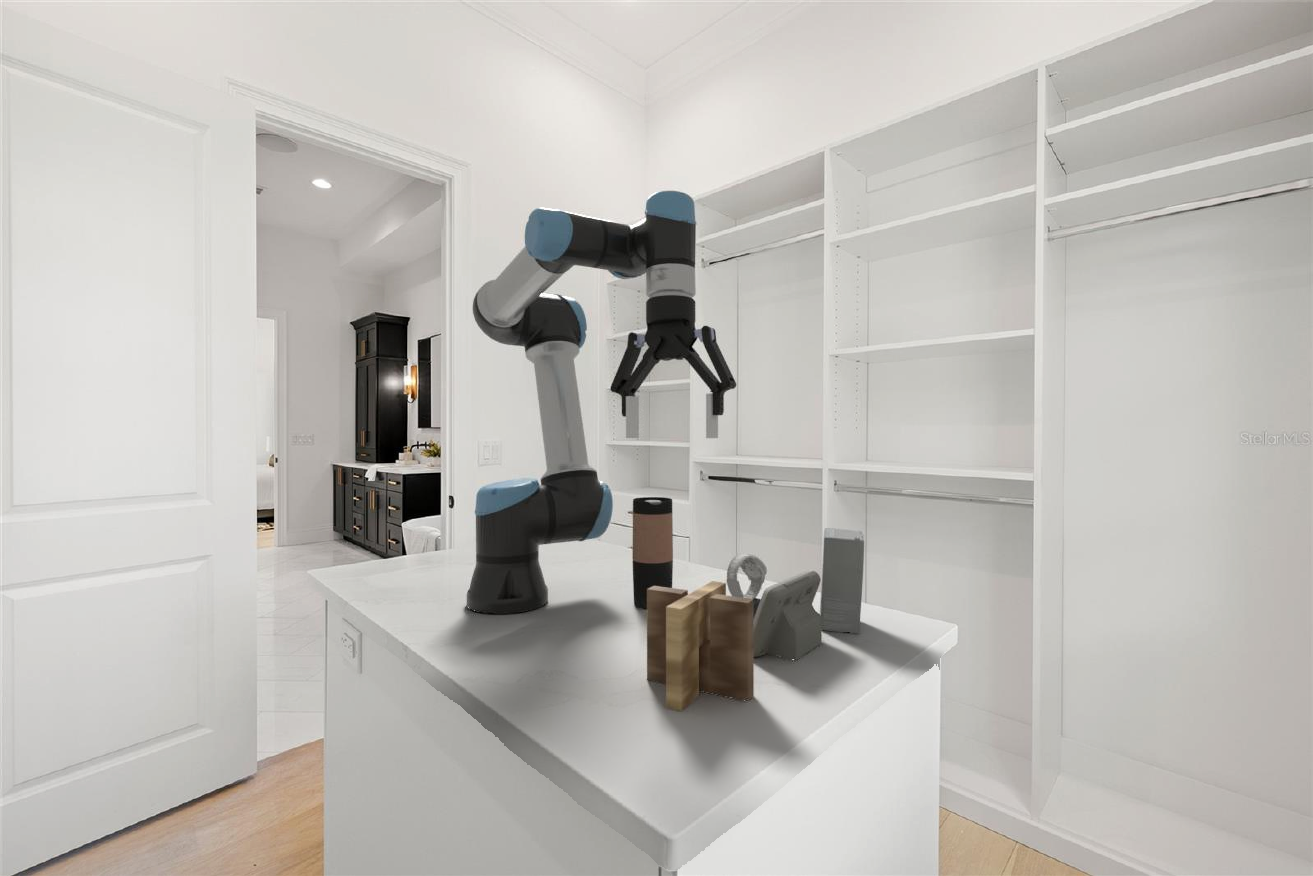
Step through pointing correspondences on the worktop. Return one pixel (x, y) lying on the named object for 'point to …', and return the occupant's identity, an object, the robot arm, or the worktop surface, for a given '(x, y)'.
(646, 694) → the worktop surface
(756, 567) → the watch
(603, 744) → the worktop surface
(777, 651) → the digital clock
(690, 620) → the notched board
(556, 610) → the worktop surface
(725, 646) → the notched stand
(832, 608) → the skincare box
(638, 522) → the travel mug
